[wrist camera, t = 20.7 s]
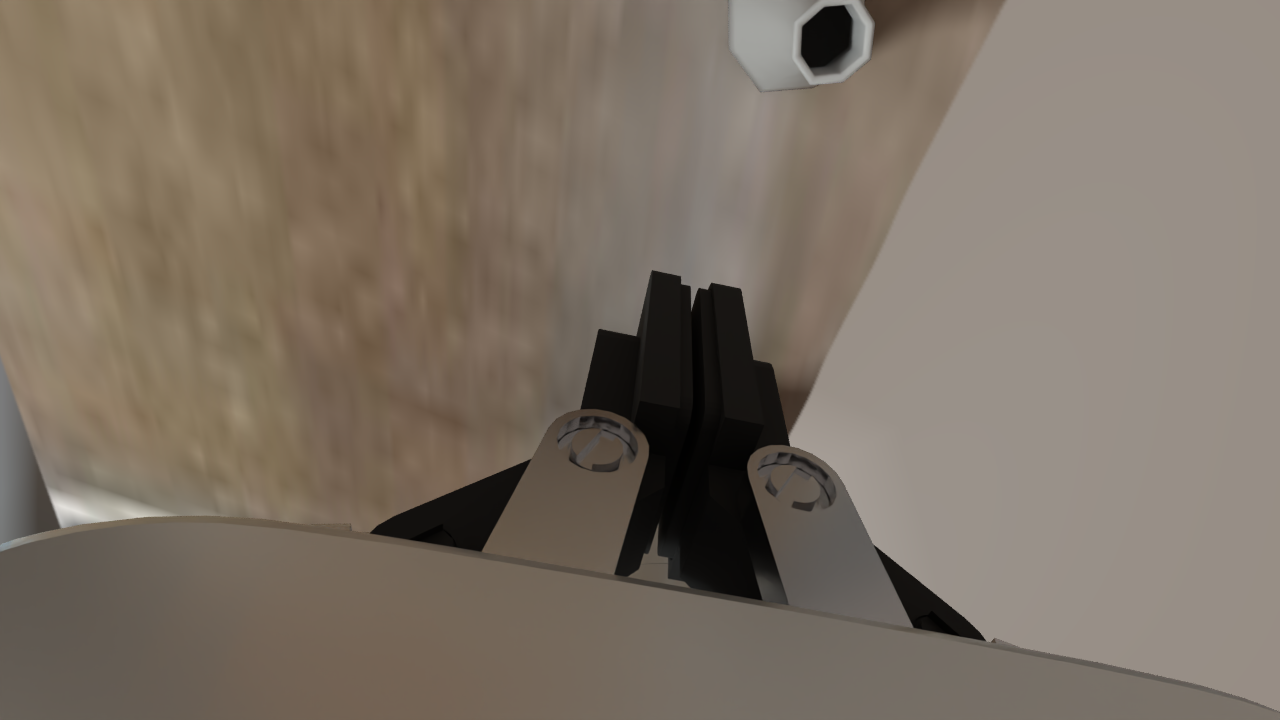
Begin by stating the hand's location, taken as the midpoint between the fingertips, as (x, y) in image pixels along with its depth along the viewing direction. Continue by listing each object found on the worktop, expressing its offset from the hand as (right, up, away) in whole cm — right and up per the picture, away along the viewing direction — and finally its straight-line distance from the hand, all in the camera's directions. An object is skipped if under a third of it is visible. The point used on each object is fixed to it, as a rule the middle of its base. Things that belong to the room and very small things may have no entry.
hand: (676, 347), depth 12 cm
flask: (+7, +18, +20) cm, 28 cm away
